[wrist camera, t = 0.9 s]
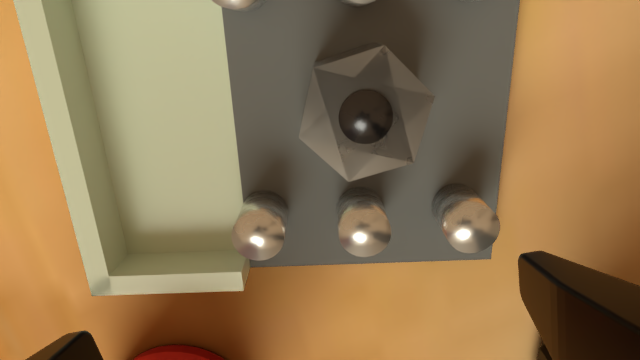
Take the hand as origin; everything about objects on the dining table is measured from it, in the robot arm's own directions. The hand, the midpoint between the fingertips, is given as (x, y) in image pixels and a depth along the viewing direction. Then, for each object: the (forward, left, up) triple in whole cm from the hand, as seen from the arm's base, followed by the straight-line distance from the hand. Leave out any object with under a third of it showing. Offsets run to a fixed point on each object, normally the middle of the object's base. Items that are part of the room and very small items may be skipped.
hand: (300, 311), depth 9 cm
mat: (-3, -2, -12) cm, 13 cm away
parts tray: (+7, -2, -12) cm, 14 cm away
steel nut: (-2, -2, -11) cm, 12 cm away
